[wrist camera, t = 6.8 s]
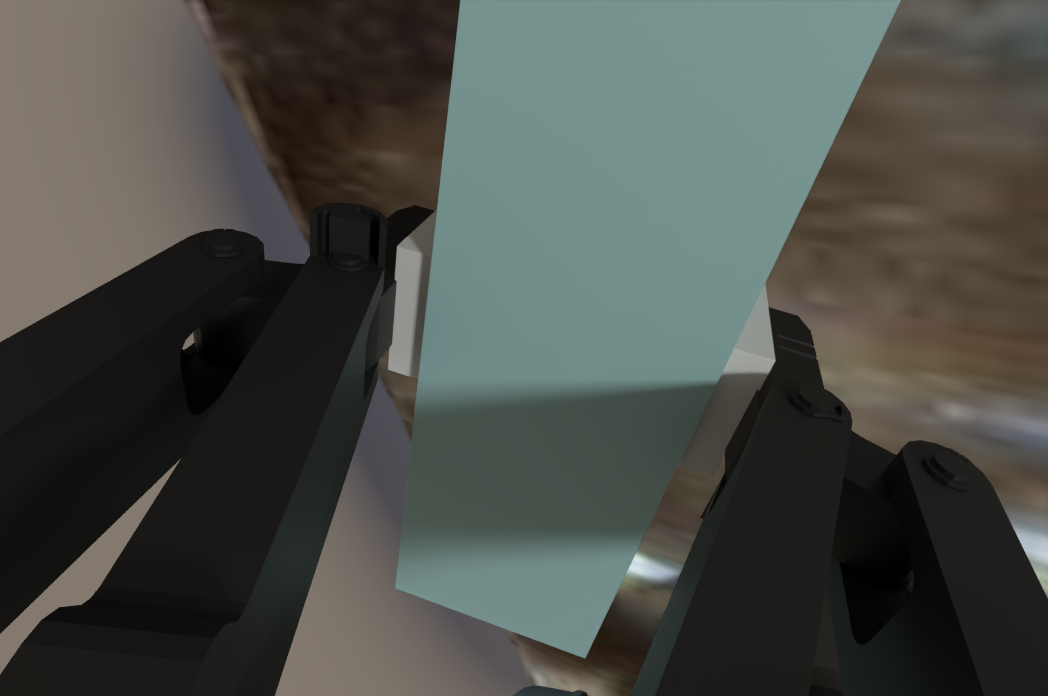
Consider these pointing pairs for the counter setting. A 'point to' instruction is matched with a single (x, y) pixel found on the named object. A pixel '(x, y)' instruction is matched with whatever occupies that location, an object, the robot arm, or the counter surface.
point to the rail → (600, 275)
